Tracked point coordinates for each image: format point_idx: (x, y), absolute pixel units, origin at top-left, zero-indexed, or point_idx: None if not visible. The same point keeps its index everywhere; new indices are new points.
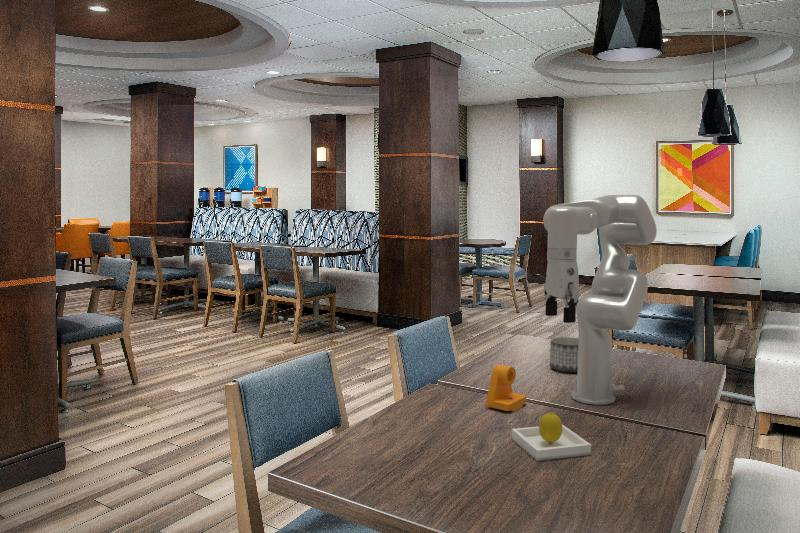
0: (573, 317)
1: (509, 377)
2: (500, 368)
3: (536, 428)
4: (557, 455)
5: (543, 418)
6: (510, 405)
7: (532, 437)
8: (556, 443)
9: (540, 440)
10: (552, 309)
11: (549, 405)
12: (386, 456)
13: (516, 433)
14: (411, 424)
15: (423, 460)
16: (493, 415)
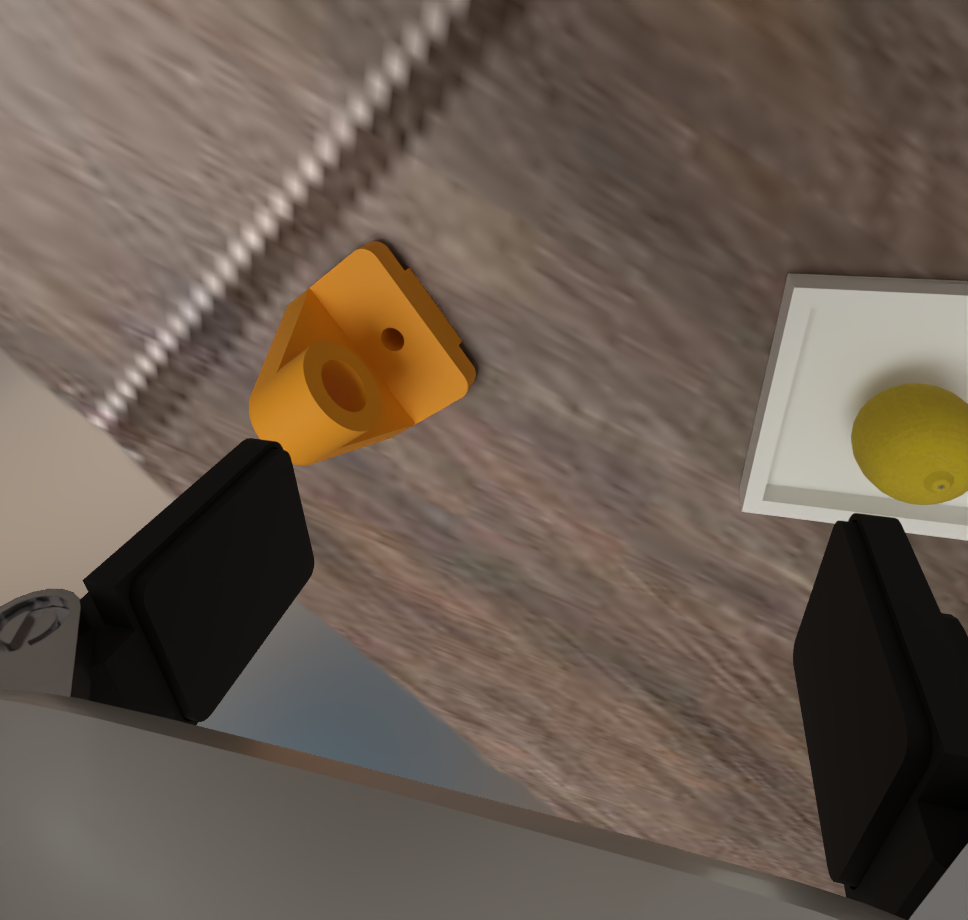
0: (957, 641)
1: (322, 369)
2: (315, 447)
3: (781, 422)
4: None
5: (919, 504)
6: (464, 372)
7: (791, 433)
8: (906, 379)
9: (837, 421)
10: (254, 564)
11: (409, 120)
12: (704, 786)
13: (792, 517)
14: (505, 664)
15: (773, 745)
16: (486, 430)
